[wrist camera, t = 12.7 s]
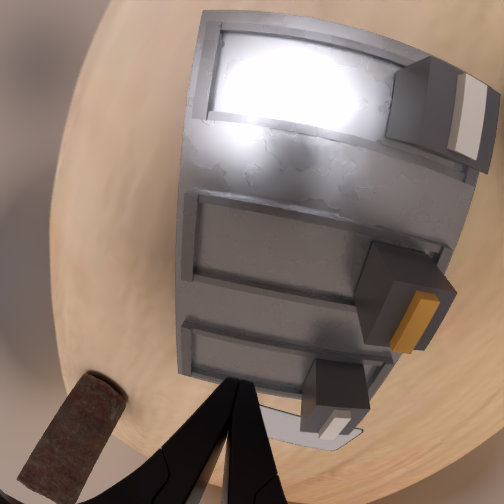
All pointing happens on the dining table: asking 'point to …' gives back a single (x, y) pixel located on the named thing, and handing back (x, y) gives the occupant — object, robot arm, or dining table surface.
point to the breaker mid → (401, 298)
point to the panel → (296, 197)
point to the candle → (73, 441)
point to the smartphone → (289, 431)
